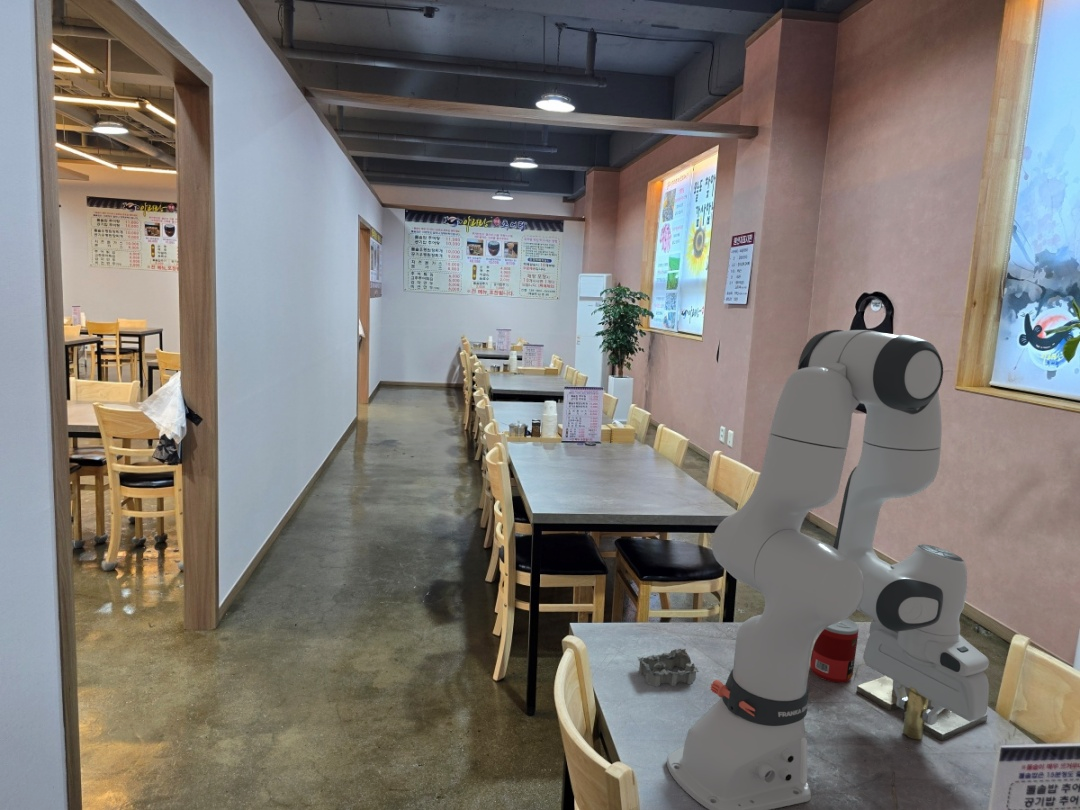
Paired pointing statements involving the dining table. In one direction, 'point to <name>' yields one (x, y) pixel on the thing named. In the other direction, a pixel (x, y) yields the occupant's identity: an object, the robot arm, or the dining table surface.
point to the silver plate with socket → (946, 719)
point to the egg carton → (667, 662)
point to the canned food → (835, 652)
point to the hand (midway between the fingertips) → (915, 714)
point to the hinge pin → (915, 714)
